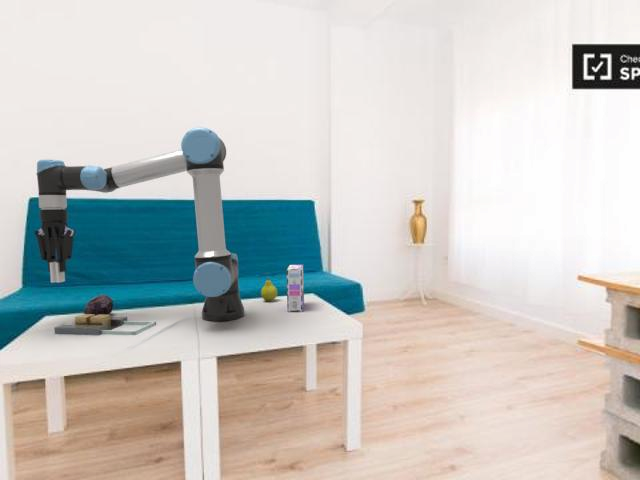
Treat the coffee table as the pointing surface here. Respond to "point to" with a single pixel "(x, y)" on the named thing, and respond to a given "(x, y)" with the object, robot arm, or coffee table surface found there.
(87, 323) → the brass block
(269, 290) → the fruit
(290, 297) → the candy box
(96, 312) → the rock
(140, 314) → the coffee table surface
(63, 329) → the rail
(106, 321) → the brass block
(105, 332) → the tray
